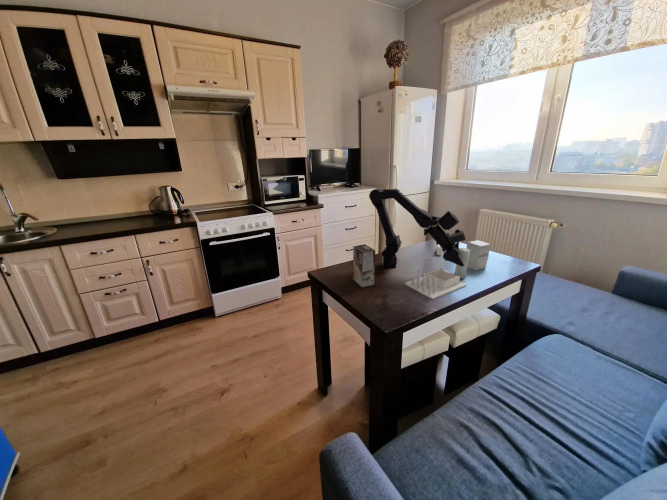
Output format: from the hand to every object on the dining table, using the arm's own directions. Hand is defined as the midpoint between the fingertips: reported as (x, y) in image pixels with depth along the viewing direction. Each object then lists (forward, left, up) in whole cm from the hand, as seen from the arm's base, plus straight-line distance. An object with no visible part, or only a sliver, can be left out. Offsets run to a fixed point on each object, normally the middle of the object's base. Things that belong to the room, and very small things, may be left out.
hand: (463, 262), depth 122 cm
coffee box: (-45, -3, -7) cm, 46 cm away
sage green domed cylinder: (0, 0, -7) cm, 7 cm away
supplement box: (+12, +10, -7) cm, 17 cm away
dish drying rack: (-15, -8, -7) cm, 18 cm away
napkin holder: (+4, +32, -8) cm, 33 cm away
